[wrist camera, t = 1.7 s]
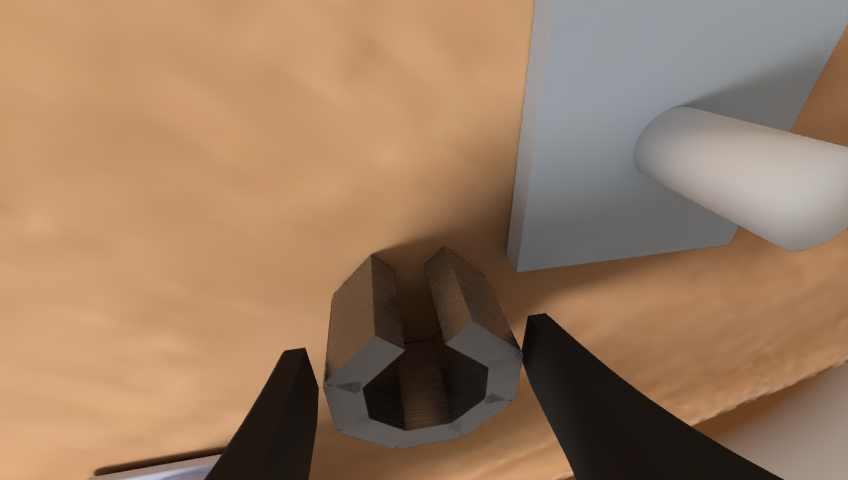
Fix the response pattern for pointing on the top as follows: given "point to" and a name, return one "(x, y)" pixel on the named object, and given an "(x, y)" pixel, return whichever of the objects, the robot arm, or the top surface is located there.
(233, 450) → the robot arm
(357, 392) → the snap ring
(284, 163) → the top surface
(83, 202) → the top surface
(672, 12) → the post stand
